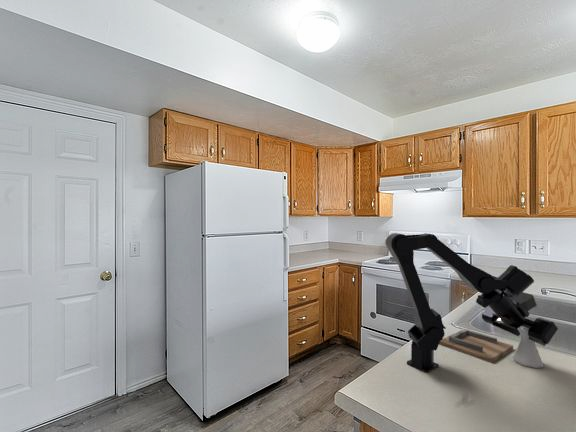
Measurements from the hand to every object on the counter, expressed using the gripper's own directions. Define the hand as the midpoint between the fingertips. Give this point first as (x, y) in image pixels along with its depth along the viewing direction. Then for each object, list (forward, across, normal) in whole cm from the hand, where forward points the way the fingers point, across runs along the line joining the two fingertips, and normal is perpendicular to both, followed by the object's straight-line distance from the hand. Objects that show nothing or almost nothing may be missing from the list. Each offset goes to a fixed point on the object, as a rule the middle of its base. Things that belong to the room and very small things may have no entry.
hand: (531, 339), depth 90 cm
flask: (+4, 0, +6) cm, 7 cm away
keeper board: (0, +13, +10) cm, 16 cm away
